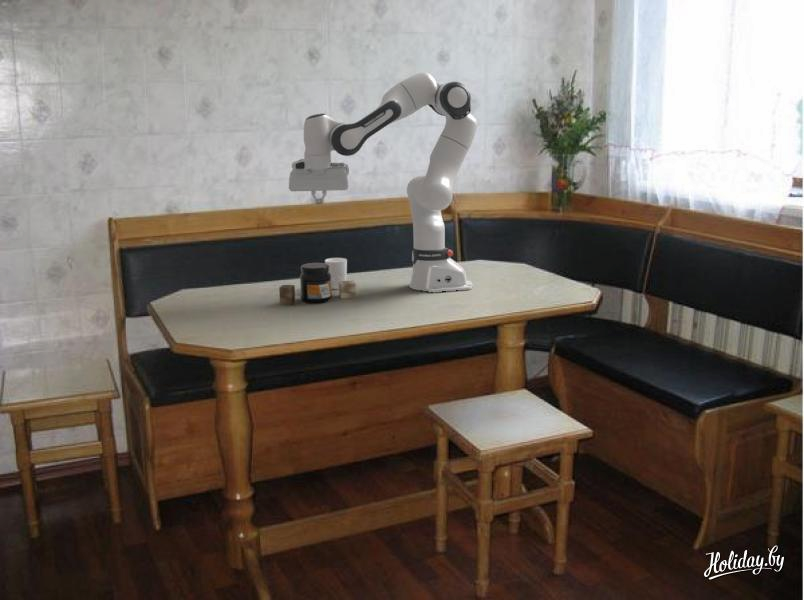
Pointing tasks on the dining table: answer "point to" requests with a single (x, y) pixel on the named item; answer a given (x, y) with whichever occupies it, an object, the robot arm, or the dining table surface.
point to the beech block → (347, 289)
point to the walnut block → (287, 294)
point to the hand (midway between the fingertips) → (319, 203)
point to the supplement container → (315, 283)
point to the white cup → (337, 270)
